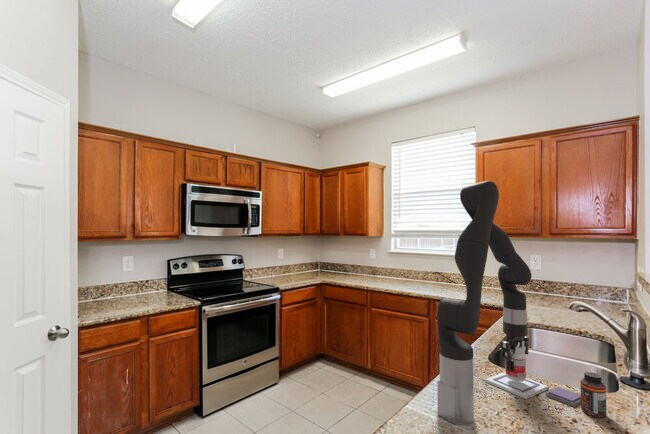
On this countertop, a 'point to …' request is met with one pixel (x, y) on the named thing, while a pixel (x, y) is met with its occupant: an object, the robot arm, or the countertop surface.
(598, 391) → the supplement bottle
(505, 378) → the board
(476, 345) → the countertop surface
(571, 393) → the ink pad
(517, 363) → the pill bottle
